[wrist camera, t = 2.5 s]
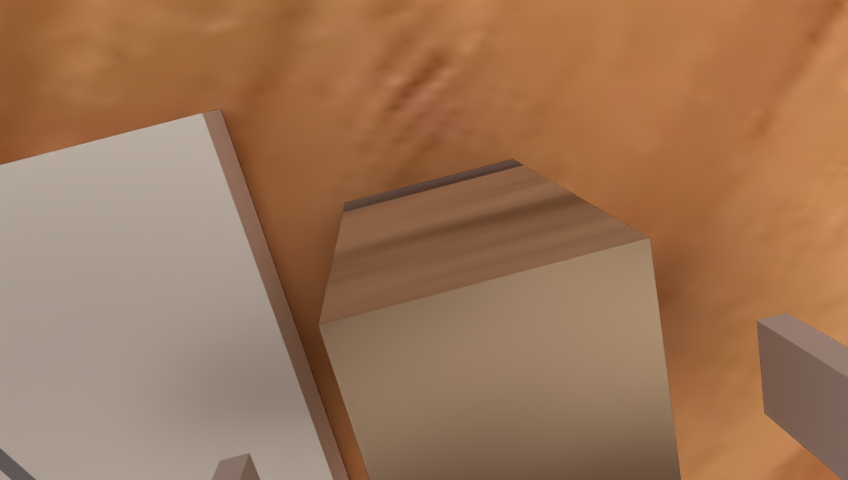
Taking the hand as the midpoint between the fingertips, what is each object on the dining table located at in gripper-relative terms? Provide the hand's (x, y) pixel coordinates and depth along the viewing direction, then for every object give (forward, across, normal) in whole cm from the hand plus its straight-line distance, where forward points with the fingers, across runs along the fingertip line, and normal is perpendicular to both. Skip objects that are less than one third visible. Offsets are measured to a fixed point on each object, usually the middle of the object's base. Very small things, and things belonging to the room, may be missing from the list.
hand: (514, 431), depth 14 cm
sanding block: (+7, 0, 0) cm, 7 cm away
